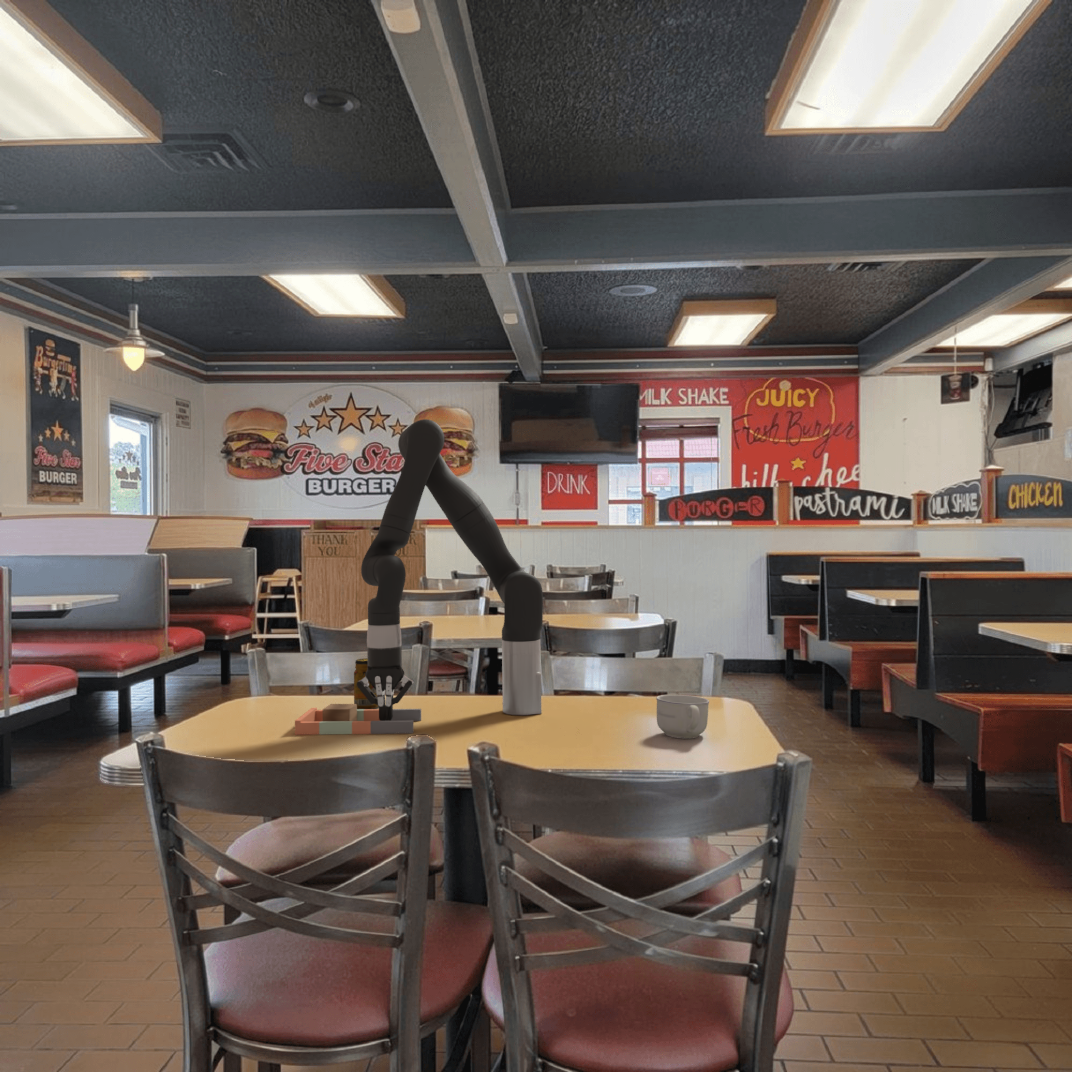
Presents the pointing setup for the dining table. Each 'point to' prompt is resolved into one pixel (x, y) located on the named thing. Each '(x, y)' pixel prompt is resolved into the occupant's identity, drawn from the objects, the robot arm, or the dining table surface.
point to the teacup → (682, 715)
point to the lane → (358, 723)
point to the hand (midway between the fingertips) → (385, 722)
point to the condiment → (358, 695)
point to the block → (340, 712)
